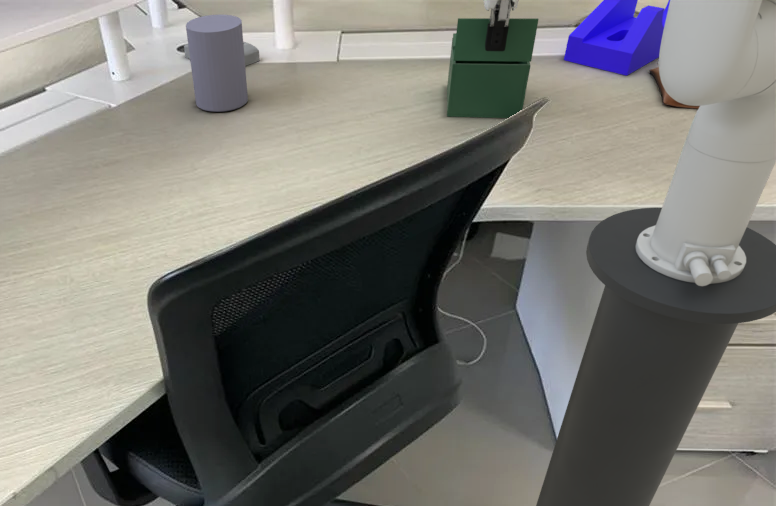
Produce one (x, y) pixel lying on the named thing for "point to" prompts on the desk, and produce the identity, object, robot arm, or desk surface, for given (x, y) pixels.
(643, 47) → the bracket
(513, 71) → the carton
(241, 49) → the container
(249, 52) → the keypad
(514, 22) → the flap
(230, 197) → the desk surface
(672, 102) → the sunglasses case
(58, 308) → the desk surface
